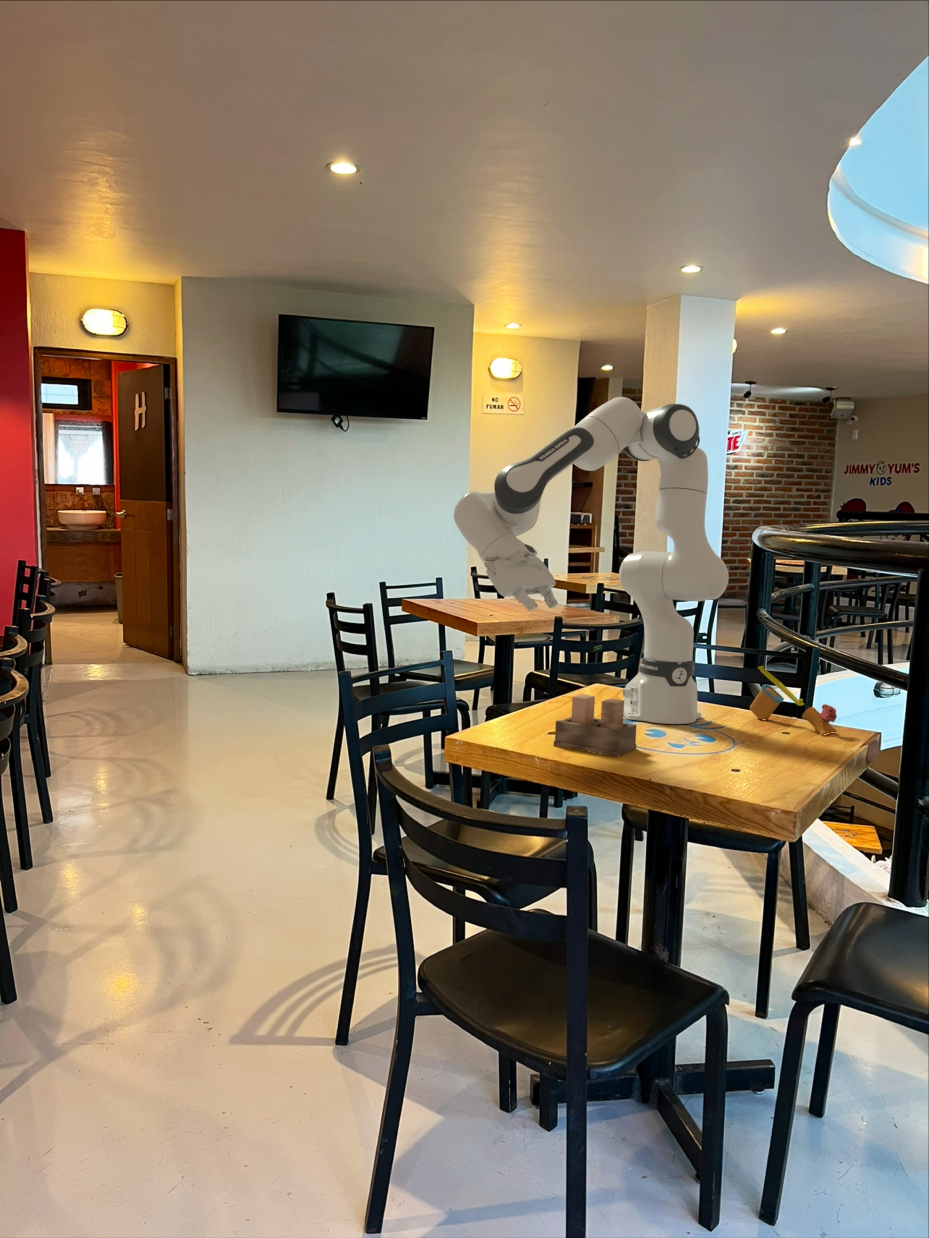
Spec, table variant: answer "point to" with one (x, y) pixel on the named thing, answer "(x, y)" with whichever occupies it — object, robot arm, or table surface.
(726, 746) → the table surface
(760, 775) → the table surface
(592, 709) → the pink rectangular block
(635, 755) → the table surface
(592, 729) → the box
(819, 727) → the toy
